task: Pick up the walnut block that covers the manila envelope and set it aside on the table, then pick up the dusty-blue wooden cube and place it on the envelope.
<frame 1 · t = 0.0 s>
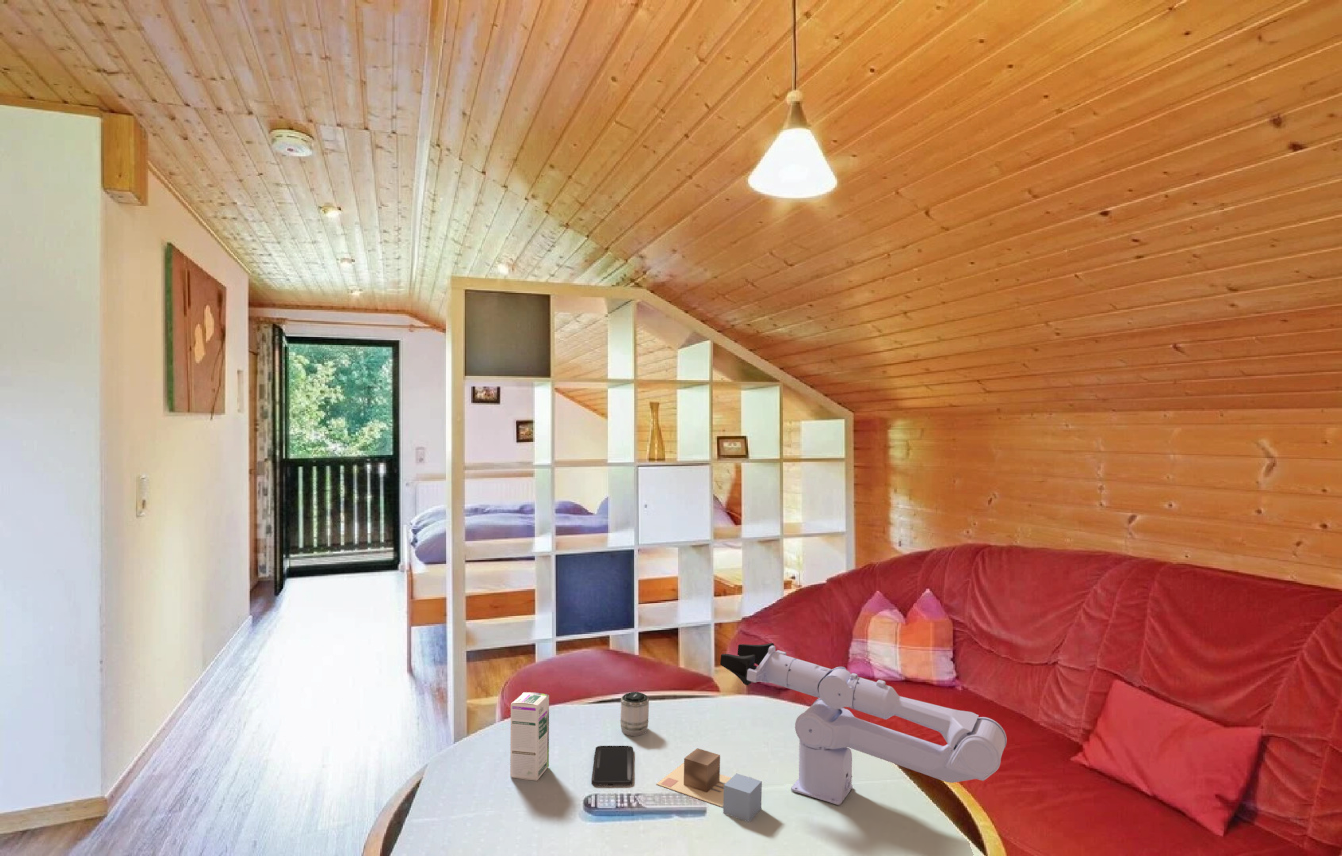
hand: (730, 654, 140), 22 cm above the table, tool horizontal, fingers open, 7 cm apart
envelope: (701, 783, 130), on the table
syrup box: (529, 773, 133), on the table
camera lens: (634, 731, 153), on the table
walnut block: (701, 782, 130), resting on envelope
cube: (742, 811, 121), on the table
phone: (612, 769, 136), on the table
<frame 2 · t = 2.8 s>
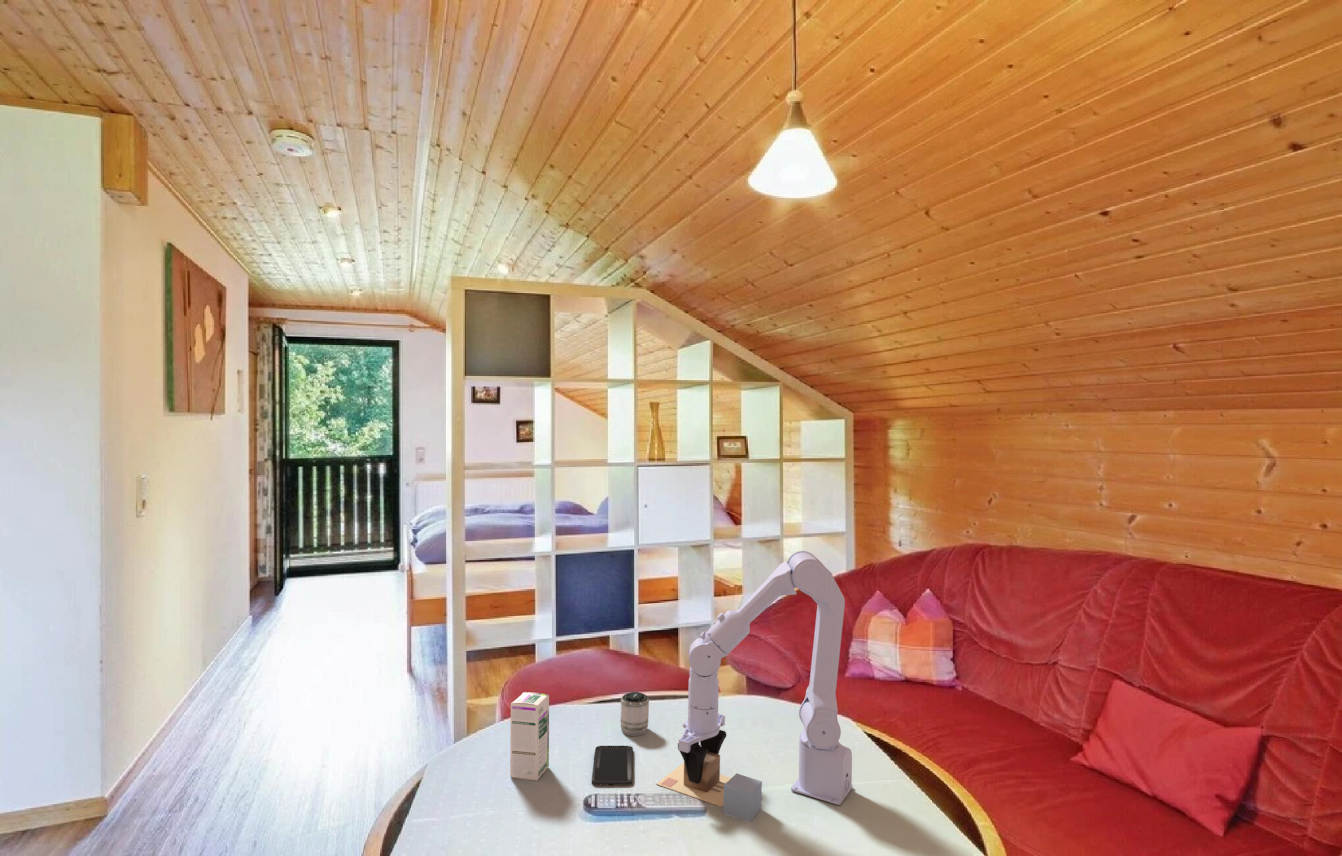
hand: (701, 775, 130), 2 cm above the table, tool pointing down, fingers closed on walnut block, 5 cm apart
walnut block: (701, 782, 130), resting on envelope, touching gripper
everything else where it was.
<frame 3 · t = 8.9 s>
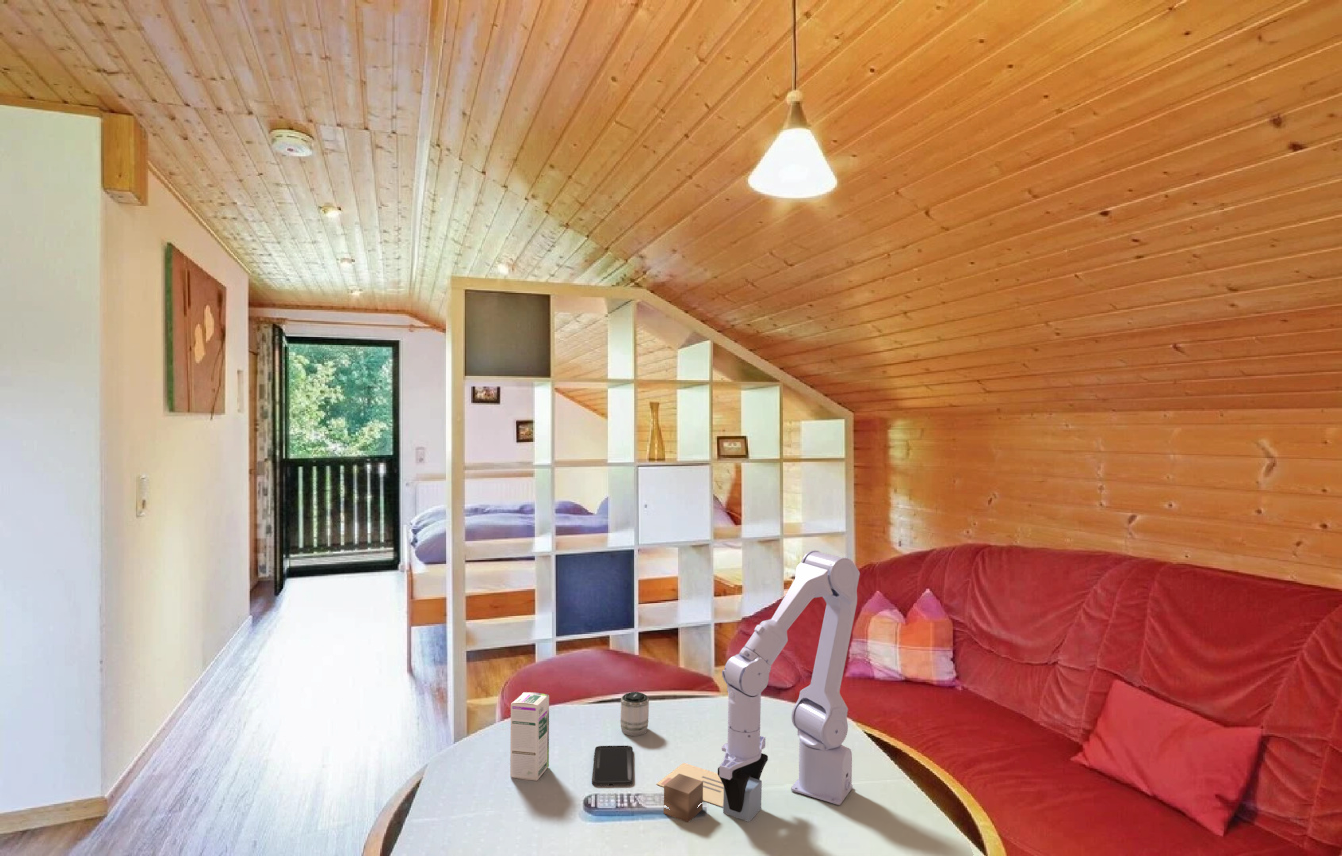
hand: (742, 802, 121), 1 cm above the table, tool pointing down, fingers closed on cube, 5 cm apart
walnut block: (683, 811, 121), on the table
cube: (742, 810, 121), on the table, touching gripper
everything else where it was.
when the fingers open (3 cm above the table, at t = 12.3 s): cube stays where it is, resting on envelope.
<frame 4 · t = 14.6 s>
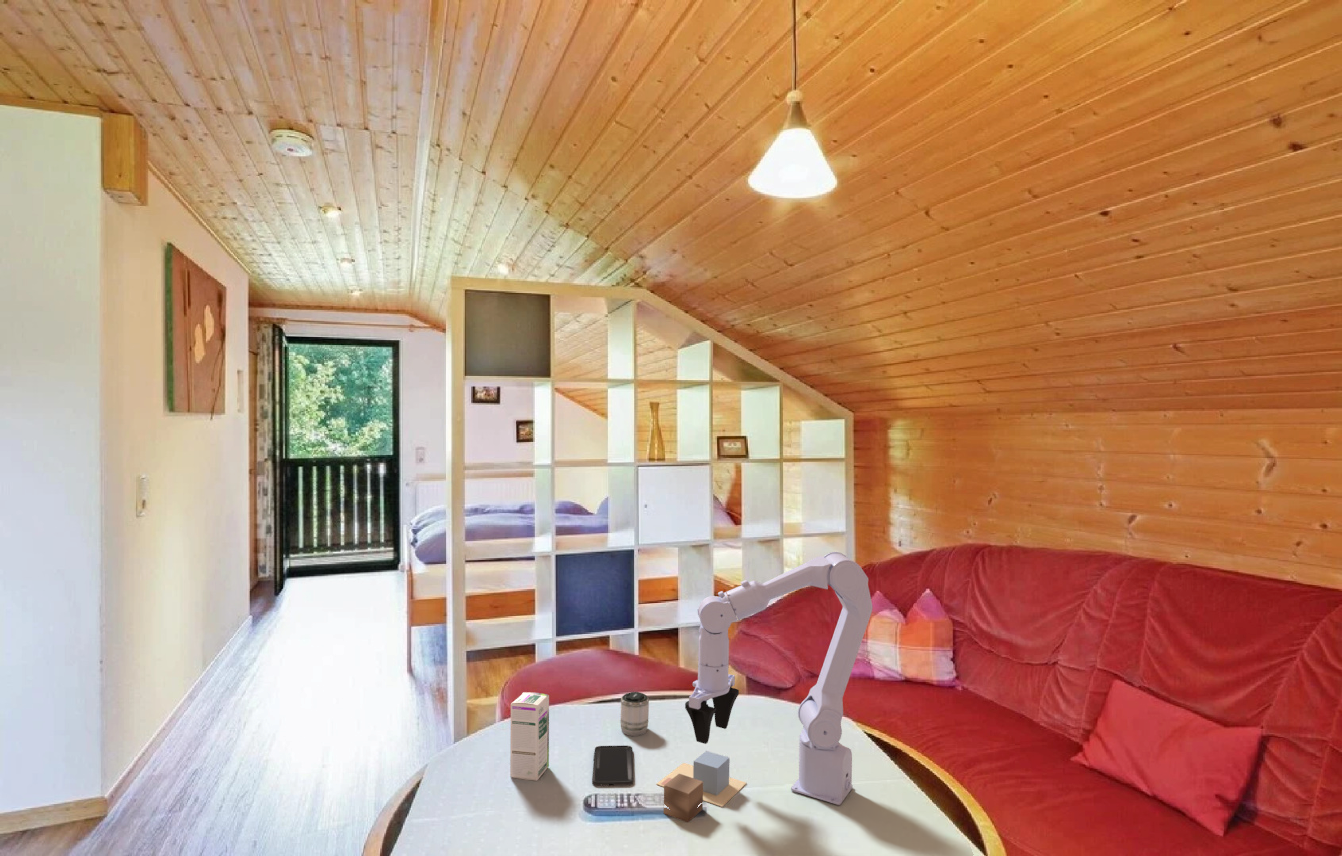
hand: (712, 734, 129), 10 cm above the table, tool pointing down, fingers open, 7 cm apart
cube: (711, 785, 129), resting on envelope
everything else where it was.
at the end: walnut block inside the target area (7.6 cm from its centre), on the table; cube inside the target area on the envelope (2.0 cm from its centre), point 0.2 cm above the envelope's base; cube tilted 0° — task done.
